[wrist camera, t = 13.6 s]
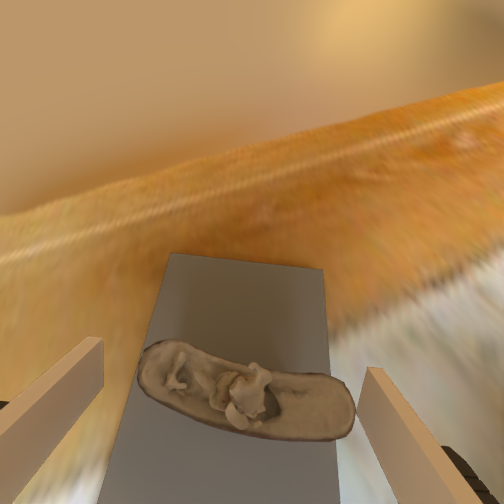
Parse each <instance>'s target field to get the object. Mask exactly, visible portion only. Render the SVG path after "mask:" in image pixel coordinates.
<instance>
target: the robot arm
mask: <svg viewBox="0 0 504 504" xmlns="http://www.w3.org/2000/svg"><path fill="white" fill-rule="evenodd" d="M103 386H104V371H103V338H101V337H92V336H87V337H86V338H85V339H83V340H82V341H81V342H80V343H79V344H78V345H76V346H75V347H74V348H73V349H72V350H71V351H69V352H68V353H67V354H66V355H65V356H64V357H62V358H61V359H60V360H59V361H58V362H56V363H55V364H54V365H53V366H52V367H51V368H49V369H48V370H47V371H46V372H45V373H44V374H42V375H41V376H40V377H39V378H38V379H36V380H35V381H34V382H33V383H32V384H31V385H29V386H28V387H27V388H26V389H25V390H24V391H22V392H21V393H20V394H19V395H18V396H17V397H15V398H14V399H13V400H12V401H11V402H6V401H0V504H12V502H13V501H14V500H15V499H16V497H17V496H18V495H19V493H20V492H21V491H22V490H23V488H24V487H25V486H26V485H27V483H28V482H29V481H30V479H31V478H32V477H33V476H34V474H35V473H36V472H37V470H38V469H39V468H40V467H41V465H42V464H43V463H44V462H45V460H46V459H47V458H48V456H49V455H50V454H51V453H52V451H53V450H54V449H55V448H56V446H57V445H58V444H59V442H60V441H61V440H62V439H63V437H64V436H65V435H66V433H67V432H68V431H69V430H70V428H71V427H72V426H73V425H74V423H75V422H76V421H77V419H78V418H79V417H80V416H81V414H82V413H83V412H84V410H85V409H86V408H87V407H88V405H89V404H90V403H91V402H92V400H93V399H94V398H95V396H96V395H97V394H98V393H99V391H100V390H101V389H102V388H103ZM356 414H357V416H358V418H359V420H360V422H361V425H362V427H363V429H364V431H365V433H366V435H367V437H368V439H369V442H370V444H371V446H372V448H373V450H374V452H375V454H376V456H377V459H378V461H379V463H380V465H381V467H382V469H383V471H384V473H385V475H386V478H387V480H388V482H389V484H390V486H391V488H392V490H393V492H394V495H395V497H396V499H397V501H398V503H399V504H499V503H498V501H497V500H496V499H495V498H494V496H493V495H491V494H490V493H489V490H488V489H487V487H486V486H485V485H484V484H483V482H482V481H481V480H479V479H478V476H477V475H476V474H475V472H474V471H473V470H472V469H471V467H470V466H469V465H468V464H467V462H466V461H465V460H464V459H463V458H461V457H460V456H459V455H458V454H457V453H456V452H455V451H453V450H452V449H451V448H450V447H448V446H440V445H439V444H438V442H437V441H436V440H435V438H434V437H433V436H432V434H431V433H430V432H429V430H428V429H427V428H426V426H425V425H424V424H423V422H422V421H421V420H420V418H419V417H418V416H417V414H416V413H415V412H414V410H413V409H412V408H411V406H410V405H409V403H408V402H407V401H406V399H405V398H404V397H403V395H402V394H401V393H400V391H399V390H398V389H397V387H396V386H395V385H394V383H393V382H392V381H391V379H390V378H389V377H388V375H387V374H386V373H385V371H384V370H383V369H382V368H374V367H367V370H366V374H365V378H364V382H363V387H362V391H361V395H360V399H359V403H358V407H357V411H356Z"/></svg>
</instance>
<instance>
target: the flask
mask: <svg viewBox="0 0 504 504" xmlns="http://www.w3.org/2000/svg"><path fill="white" fill-rule="evenodd" d="M137 381H138V385H139V387H140V388H141V389H142V390H143V392H144V394H145V395H146V396H147V397H150V398H152V399H153V400H155V401H156V402H158V403H160V404H162V405H164V406H166V407H168V408H170V409H171V410H174V411H176V412H178V413H180V414H182V415H185V416H187V417H189V418H192V419H193V420H195V421H196V422H200V423H203V424H205V425H208V426H211V427H214V428H217V429H221V430H224V431H228V432H232V433H237V434H241V435H245V436H249V437H256V438H260V439H268V440H279V441H288V442H332V441H333V440H337V439H341V438H344V437H346V436H347V435H348V434H349V433H350V431H351V430H352V427H353V424H354V421H355V414H356V407H355V403H354V401H353V398H352V396H351V394H350V392H349V390H348V388H347V387H346V386H345V384H344V382H342V381H340V380H338V379H336V378H334V377H332V376H328V375H326V374H324V373H314V372H308V373H291V372H280V371H274V370H271V369H263V368H261V367H260V366H259V365H258V364H257V363H255V362H251V363H250V364H249V365H246V364H241V363H238V362H234V361H230V360H227V359H224V358H221V357H218V356H215V355H213V354H210V353H208V352H206V351H204V350H202V349H200V348H198V347H196V346H194V345H192V344H190V343H187V342H185V341H182V340H179V339H176V338H175V339H165V340H161V341H157V342H155V343H154V344H152V345H151V346H149V347H147V348H145V349H144V351H143V355H142V357H141V359H140V361H139V365H138V374H137Z"/></svg>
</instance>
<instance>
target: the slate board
mask: <svg viewBox="0 0 504 504" xmlns="http://www.w3.org/2000/svg"><path fill="white" fill-rule="evenodd" d="M175 338H176V339H179V340H182V341H185V342H187V343H190V344H192V345H194V346H196V347H198V348H200V349H202V350H204V351H206V352H208V353H210V354H213V355H215V356H218V357H221V358H224V359H227V360H230V361H234V362H238V363H241V364H246V365H249V364H250V363H251V362H255V363H257V364H258V365H259V366H260V367H261V368H263V369H271V370H274V371H280V372H291V373H308V372H314V373H324V374H326V375H328V376H331V373H330V360H329V346H328V333H327V320H326V306H325V293H324V279H323V270H321V269H312V268H303V267H294V266H285V265H276V264H268V263H259V262H250V261H241V260H232V259H223V258H214V257H205V256H196V255H187V254H179V253H170V257H169V260H168V264H167V267H166V270H165V274H164V277H163V281H162V284H161V287H160V291H159V294H158V298H157V301H156V304H155V308H154V311H153V315H152V318H151V321H150V325H149V328H148V332H147V335H146V338H145V342H144V345H143V349H142V352H141V355H140V359H141V357H142V355H143V351H144V349H145V348H147V347H149V346H151V345H152V344H154V343H155V342H157V341H161V340H165V339H175ZM140 359H139V361H140ZM138 365H139V362H138ZM137 374H138V366H137V369H136V372H135V376H134V379H133V383H132V386H131V389H130V393H129V396H128V400H127V403H126V406H125V410H124V413H123V417H122V420H121V423H120V427H119V430H118V434H117V437H116V440H115V444H114V447H113V451H112V454H111V457H110V461H109V464H108V468H107V471H106V474H105V478H104V481H103V485H102V488H101V491H100V495H99V498H98V502H97V504H340V493H339V480H338V466H337V453H336V440H333V441H332V442H288V441H279V440H268V439H260V438H256V437H249V436H245V435H241V434H237V433H232V432H228V431H224V430H221V429H217V428H214V427H211V426H208V425H205V424H203V423H200V422H196V421H195V420H193V419H192V418H189V417H187V416H185V415H182V414H180V413H178V412H176V411H174V410H171V409H170V408H168V407H166V406H164V405H162V404H160V403H158V402H156V401H155V400H153V399H152V398H150V397H147V396H146V395H145V394H144V392H143V390H142V389H141V388H140V387H139V385H138V381H137Z"/></svg>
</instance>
